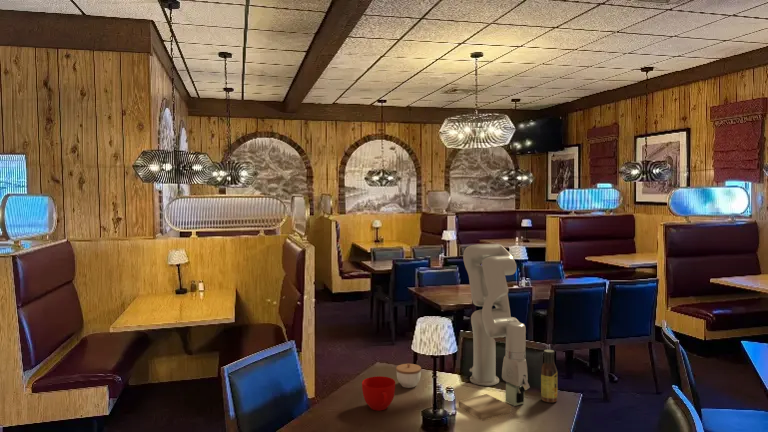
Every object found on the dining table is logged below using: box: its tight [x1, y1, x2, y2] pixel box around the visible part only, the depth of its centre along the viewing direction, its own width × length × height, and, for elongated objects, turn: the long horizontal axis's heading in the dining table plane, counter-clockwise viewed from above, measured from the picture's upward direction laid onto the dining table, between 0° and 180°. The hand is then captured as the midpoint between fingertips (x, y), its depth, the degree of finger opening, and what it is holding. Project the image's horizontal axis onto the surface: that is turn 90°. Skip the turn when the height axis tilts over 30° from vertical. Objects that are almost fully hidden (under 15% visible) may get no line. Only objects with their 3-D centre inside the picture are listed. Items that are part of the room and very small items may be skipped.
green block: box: [505, 383, 525, 407], centre depth 216 cm, size 5×5×7 cm
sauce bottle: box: [540, 349, 558, 403], centre depth 218 cm, size 6×6×20 cm
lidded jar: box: [395, 363, 422, 389], centre depth 237 cm, size 11×11×9 cm
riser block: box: [458, 393, 512, 421], centre depth 210 cm, size 14×14×3 cm
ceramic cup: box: [361, 376, 396, 411], centre depth 212 cm, size 13×17×10 cm
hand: (514, 399), depth 216 cm, fingers closed on green block, 5 cm apart
